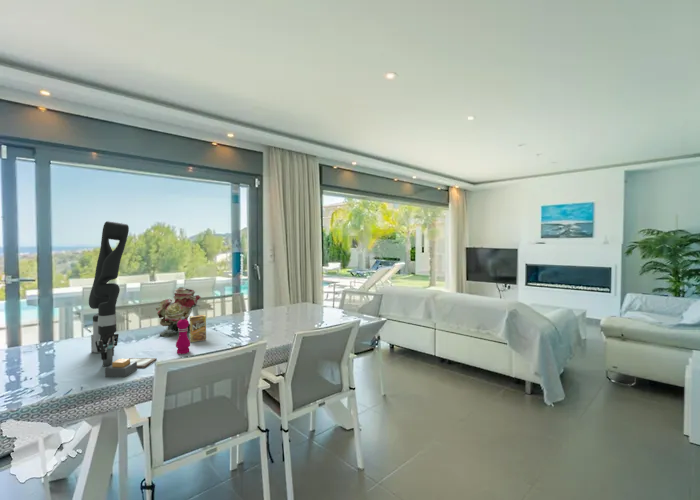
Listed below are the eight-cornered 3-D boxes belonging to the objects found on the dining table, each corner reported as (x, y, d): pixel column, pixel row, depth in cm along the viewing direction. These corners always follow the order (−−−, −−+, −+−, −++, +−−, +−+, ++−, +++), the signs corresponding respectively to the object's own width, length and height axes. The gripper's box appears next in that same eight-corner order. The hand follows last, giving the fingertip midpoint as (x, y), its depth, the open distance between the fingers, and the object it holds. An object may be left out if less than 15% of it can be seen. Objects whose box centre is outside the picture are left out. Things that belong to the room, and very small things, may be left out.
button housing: (105, 377, 159) (105, 368, 159) (117, 369, 168) (117, 361, 168) (125, 377, 159) (125, 368, 159) (136, 369, 168) (136, 361, 168)
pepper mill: (176, 355, 189) (175, 318, 188) (175, 351, 196) (175, 315, 195) (190, 353, 192) (190, 317, 192) (189, 349, 199) (189, 314, 198)
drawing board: (115, 367, 170) (115, 365, 170) (129, 360, 181) (129, 357, 181) (144, 368, 170) (144, 365, 170) (156, 360, 181) (156, 358, 181)
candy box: (190, 342, 212) (190, 317, 211) (189, 340, 215) (189, 316, 215) (206, 340, 217) (206, 315, 216) (204, 338, 220) (204, 314, 220)
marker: (100, 366, 171) (100, 346, 171) (106, 363, 176) (106, 344, 175) (109, 366, 171) (108, 346, 171) (114, 363, 176) (114, 344, 175)
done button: (112, 371, 161) (112, 362, 161) (119, 367, 166) (119, 358, 166) (123, 371, 161) (123, 362, 161) (130, 367, 166) (130, 358, 166)
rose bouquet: (158, 328, 243) (158, 285, 242) (204, 325, 252) (204, 284, 251) (149, 338, 219) (149, 291, 217) (200, 335, 227) (200, 289, 226)
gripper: (109, 320, 180) (109, 353, 180) (89, 327, 166) (89, 363, 166) (124, 320, 180) (124, 353, 181) (105, 327, 166) (105, 363, 166)
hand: (107, 357), depth 173 cm, fingers open, 4 cm apart
